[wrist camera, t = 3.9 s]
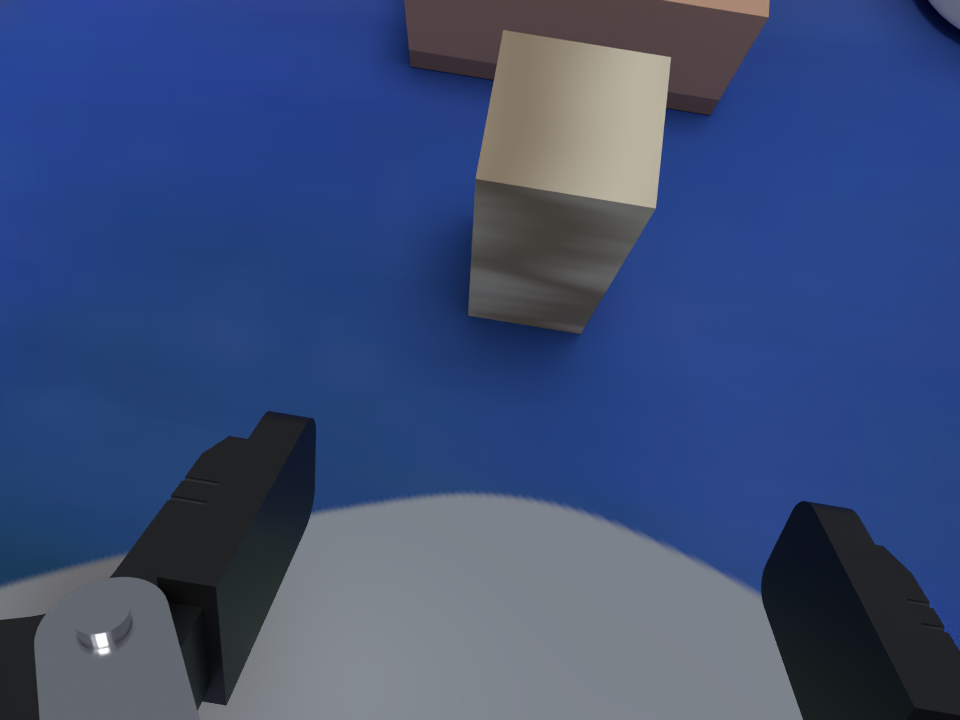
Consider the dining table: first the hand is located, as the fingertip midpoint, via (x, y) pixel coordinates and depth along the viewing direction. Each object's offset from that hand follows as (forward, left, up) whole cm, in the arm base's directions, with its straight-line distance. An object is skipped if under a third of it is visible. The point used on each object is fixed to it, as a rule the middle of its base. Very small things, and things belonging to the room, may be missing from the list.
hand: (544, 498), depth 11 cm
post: (0, -10, -13) cm, 16 cm away
